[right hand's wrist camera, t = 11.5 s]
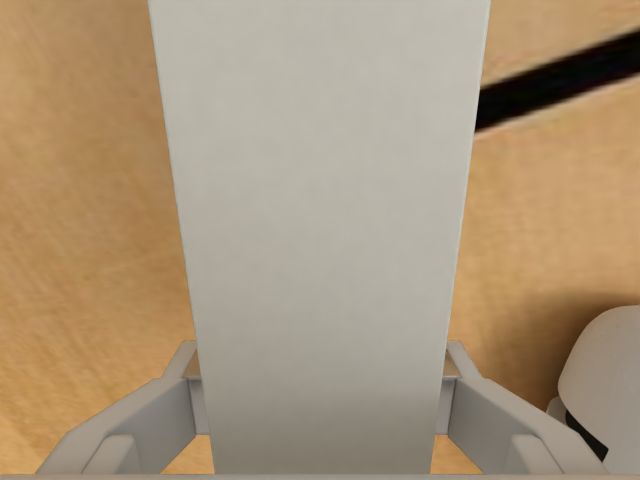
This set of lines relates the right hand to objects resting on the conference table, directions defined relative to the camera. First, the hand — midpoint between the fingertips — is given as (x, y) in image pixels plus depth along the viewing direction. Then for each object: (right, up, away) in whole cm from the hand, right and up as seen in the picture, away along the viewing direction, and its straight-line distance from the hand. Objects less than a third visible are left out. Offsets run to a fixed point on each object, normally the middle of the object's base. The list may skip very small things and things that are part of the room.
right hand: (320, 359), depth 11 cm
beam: (0, +27, -6) cm, 27 cm away
